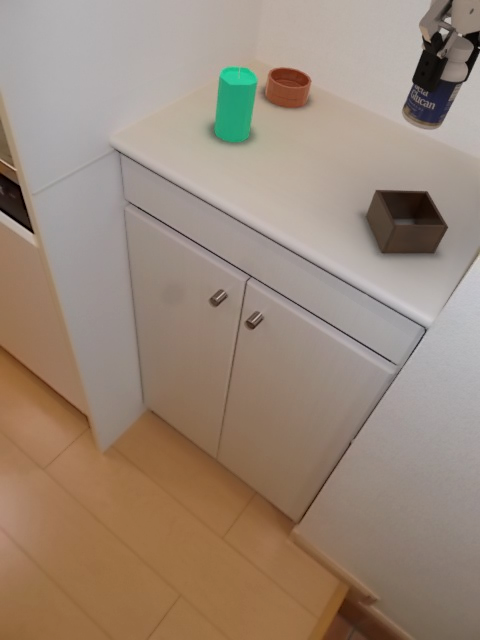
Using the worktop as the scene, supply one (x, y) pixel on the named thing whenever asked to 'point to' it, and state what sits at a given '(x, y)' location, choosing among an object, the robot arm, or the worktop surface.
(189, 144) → the worktop surface
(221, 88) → the candle
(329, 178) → the worktop surface
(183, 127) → the worktop surface
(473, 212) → the worktop surface
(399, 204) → the box
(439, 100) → the pill bottle
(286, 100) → the bowl
